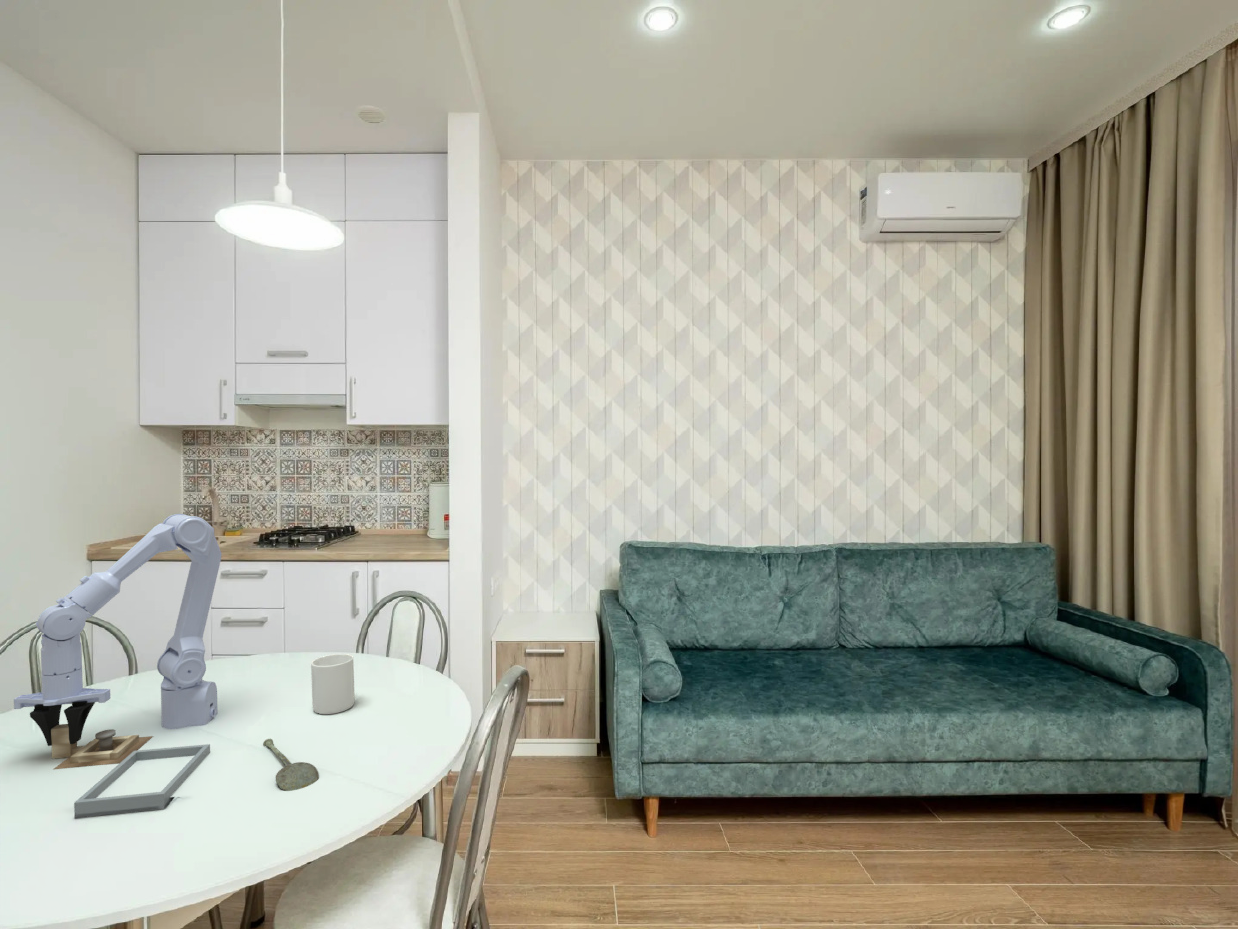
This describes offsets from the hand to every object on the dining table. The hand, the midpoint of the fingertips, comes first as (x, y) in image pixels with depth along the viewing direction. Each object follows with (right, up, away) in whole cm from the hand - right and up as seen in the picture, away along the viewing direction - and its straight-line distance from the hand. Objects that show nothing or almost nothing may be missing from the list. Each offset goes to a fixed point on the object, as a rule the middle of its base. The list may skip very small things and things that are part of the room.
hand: (64, 742), depth 120 cm
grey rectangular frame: (+22, -4, -9) cm, 24 cm away
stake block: (+7, -3, +1) cm, 8 cm away
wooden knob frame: (+4, -2, +1) cm, 5 cm away
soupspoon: (+42, -4, -2) cm, 42 cm away
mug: (+39, -3, +26) cm, 46 cm away
